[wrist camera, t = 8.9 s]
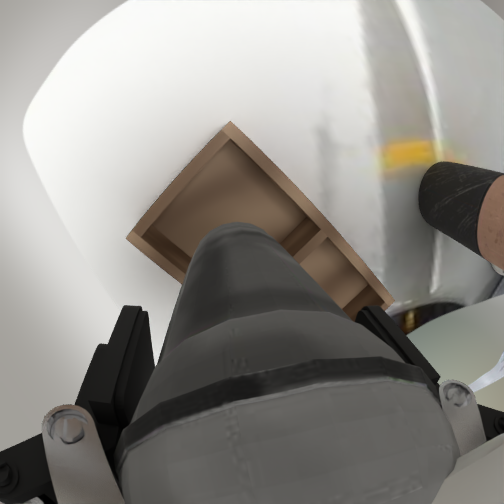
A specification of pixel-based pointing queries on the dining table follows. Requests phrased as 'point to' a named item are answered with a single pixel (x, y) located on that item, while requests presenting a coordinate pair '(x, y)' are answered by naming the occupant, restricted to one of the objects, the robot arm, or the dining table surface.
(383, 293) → the tray
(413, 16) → the dining table surface
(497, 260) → the travel mug
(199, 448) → the beverage cup
